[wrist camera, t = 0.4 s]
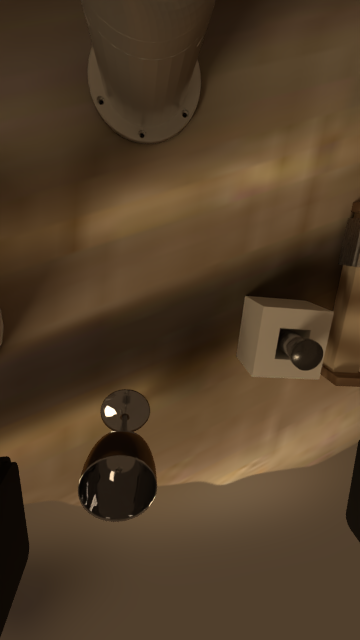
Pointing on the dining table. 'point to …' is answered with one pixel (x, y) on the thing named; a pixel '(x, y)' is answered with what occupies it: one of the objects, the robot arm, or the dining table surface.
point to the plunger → (300, 349)
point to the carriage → (351, 244)
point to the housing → (263, 333)
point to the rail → (345, 328)
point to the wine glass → (120, 462)
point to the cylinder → (1, 328)
